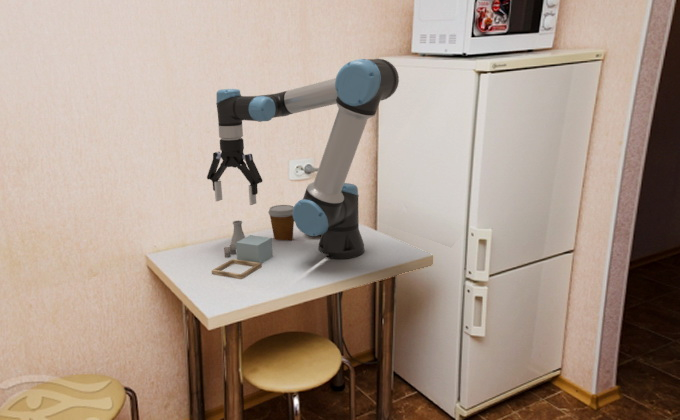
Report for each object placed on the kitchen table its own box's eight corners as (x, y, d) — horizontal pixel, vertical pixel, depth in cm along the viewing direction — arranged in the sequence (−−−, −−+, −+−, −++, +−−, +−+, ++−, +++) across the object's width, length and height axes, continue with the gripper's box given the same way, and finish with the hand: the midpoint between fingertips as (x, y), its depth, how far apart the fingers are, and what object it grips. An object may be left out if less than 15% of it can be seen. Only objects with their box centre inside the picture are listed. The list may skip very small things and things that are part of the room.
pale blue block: (272, 256, 181) (271, 237, 179) (258, 264, 174) (257, 245, 172) (251, 253, 184) (250, 235, 183) (237, 261, 177) (235, 242, 176)
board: (279, 260, 181) (278, 247, 180) (242, 283, 163) (241, 269, 162) (232, 253, 188) (231, 241, 187) (192, 274, 171) (191, 261, 169)
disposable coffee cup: (296, 244, 196) (294, 211, 192) (268, 245, 196) (266, 211, 192) (298, 236, 205) (296, 204, 202) (271, 236, 205) (269, 204, 202)
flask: (252, 246, 195) (250, 218, 192) (247, 253, 188) (245, 224, 185) (232, 246, 196) (229, 218, 193) (226, 253, 189) (223, 224, 186)
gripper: (270, 138, 180) (274, 202, 185) (207, 135, 190) (212, 196, 196) (257, 141, 173) (261, 208, 179) (192, 138, 184) (198, 201, 189)
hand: (235, 202), depth 187 cm, fingers open, 13 cm apart
